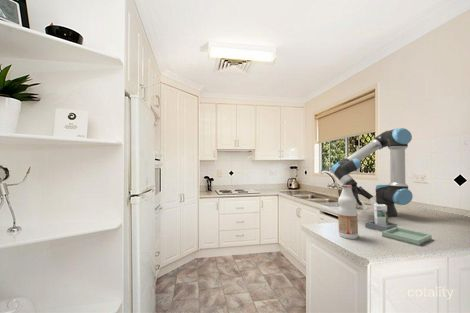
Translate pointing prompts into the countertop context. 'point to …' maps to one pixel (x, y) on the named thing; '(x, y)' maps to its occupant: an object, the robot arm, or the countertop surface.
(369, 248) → the countertop surface
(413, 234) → the tray
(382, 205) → the syrup box
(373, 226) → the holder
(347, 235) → the fruit juice
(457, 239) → the countertop surface
